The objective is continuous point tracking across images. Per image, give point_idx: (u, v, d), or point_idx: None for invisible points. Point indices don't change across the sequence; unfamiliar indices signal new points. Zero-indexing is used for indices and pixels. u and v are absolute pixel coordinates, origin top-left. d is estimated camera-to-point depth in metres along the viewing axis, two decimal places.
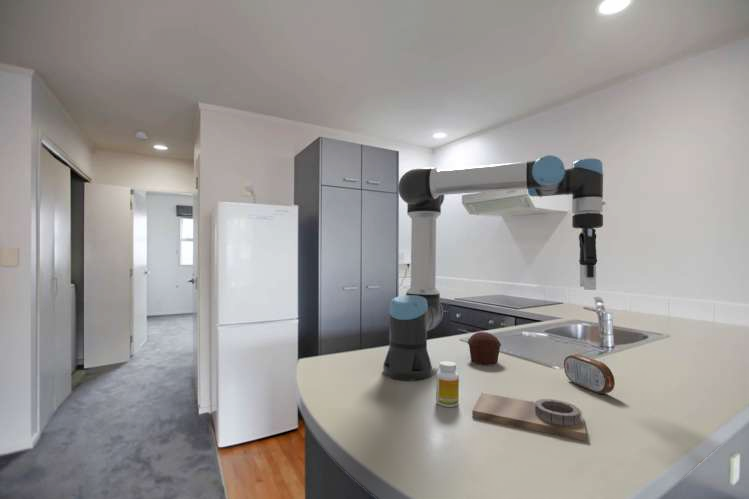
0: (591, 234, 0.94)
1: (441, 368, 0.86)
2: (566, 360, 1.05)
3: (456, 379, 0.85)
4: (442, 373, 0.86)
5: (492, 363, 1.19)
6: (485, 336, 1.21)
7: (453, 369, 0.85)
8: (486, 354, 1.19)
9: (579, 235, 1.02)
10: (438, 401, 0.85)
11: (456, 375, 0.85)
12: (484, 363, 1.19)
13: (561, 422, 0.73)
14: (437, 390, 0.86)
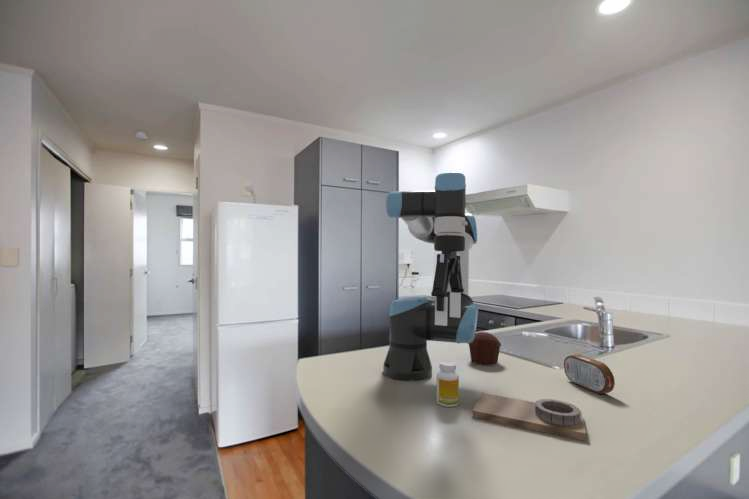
0: (443, 260, 0.81)
1: (441, 368, 0.86)
2: (566, 360, 1.05)
3: (456, 379, 0.85)
4: (442, 373, 0.86)
5: (492, 363, 1.19)
6: (485, 336, 1.21)
7: (453, 369, 0.85)
8: (486, 354, 1.19)
9: None
10: (438, 401, 0.85)
11: (456, 375, 0.85)
12: (484, 363, 1.19)
13: (561, 422, 0.73)
14: (437, 390, 0.86)
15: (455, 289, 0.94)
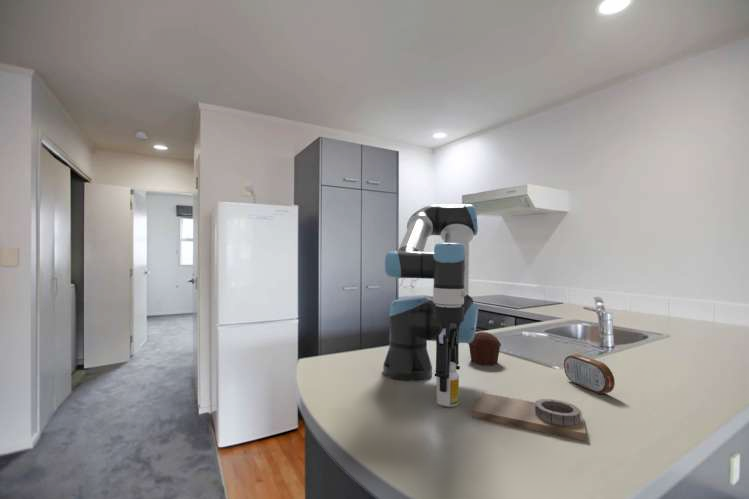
0: (442, 342, 0.81)
1: None
2: (566, 360, 1.05)
3: (456, 379, 0.85)
4: None
5: (492, 363, 1.19)
6: (485, 336, 1.21)
7: (453, 369, 0.85)
8: (486, 354, 1.19)
9: None
10: None
11: (456, 375, 0.85)
12: (484, 363, 1.19)
13: (561, 422, 0.73)
14: (437, 390, 0.86)
15: None
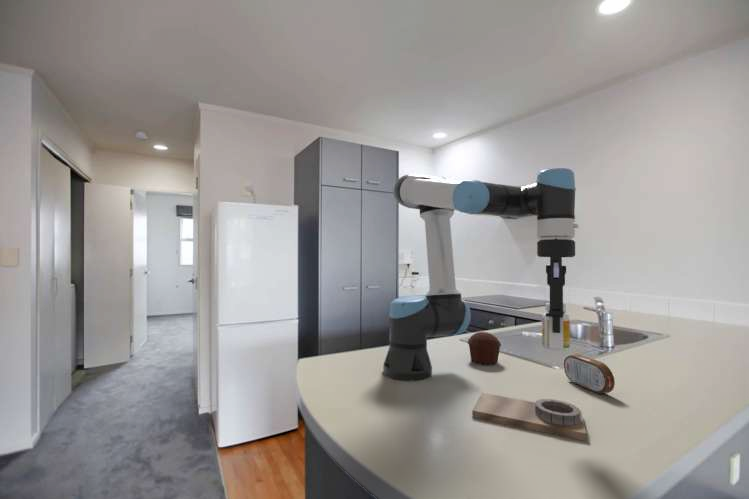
0: (558, 276, 0.72)
1: (549, 308, 0.77)
2: (566, 360, 1.05)
3: (568, 320, 0.75)
4: None
5: (492, 363, 1.19)
6: (485, 336, 1.21)
7: (564, 309, 0.76)
8: (486, 354, 1.19)
9: None
10: (547, 345, 0.76)
11: (567, 316, 0.76)
12: (484, 363, 1.19)
13: (561, 422, 0.73)
14: (545, 333, 0.77)
15: None
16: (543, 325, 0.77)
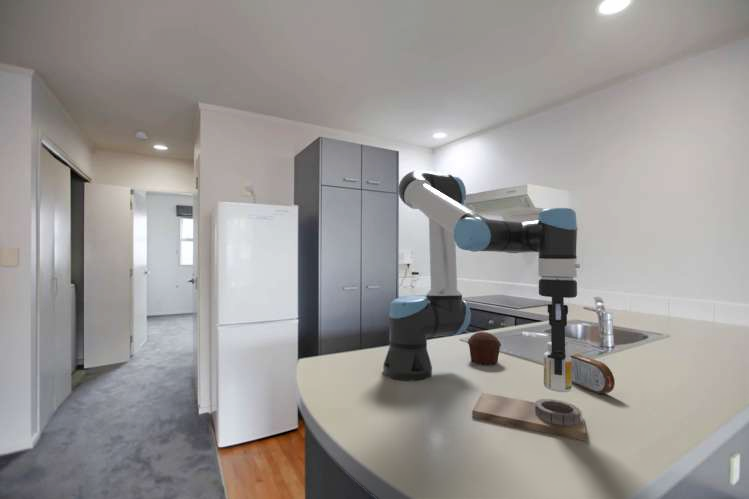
0: (560, 318, 0.72)
1: (551, 349, 0.76)
2: None
3: (570, 361, 0.75)
4: None
5: (492, 363, 1.19)
6: (485, 336, 1.21)
7: (566, 349, 0.75)
8: (486, 354, 1.19)
9: None
10: (549, 386, 0.76)
11: (569, 356, 0.76)
12: (484, 363, 1.19)
13: (561, 422, 0.73)
14: (547, 373, 0.76)
15: None
16: (545, 365, 0.77)
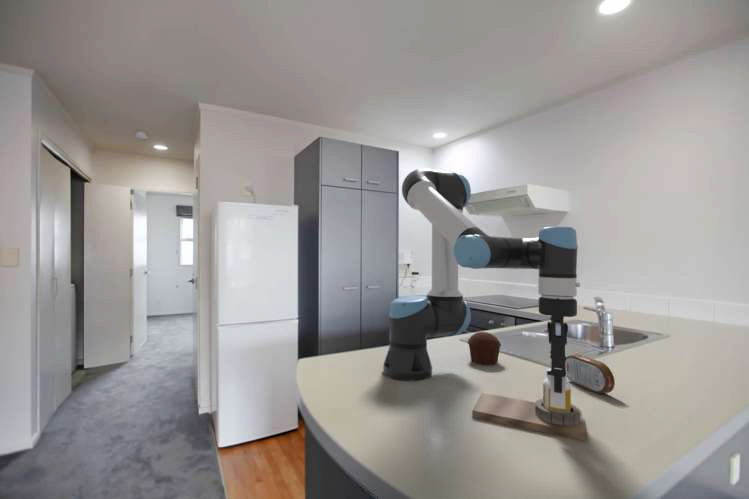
0: (560, 334, 0.71)
1: None
2: (566, 360, 1.05)
3: (569, 389, 0.75)
4: None
5: (492, 363, 1.19)
6: (485, 336, 1.21)
7: (565, 377, 0.75)
8: (486, 354, 1.19)
9: (547, 323, 0.79)
10: None
11: (568, 384, 0.76)
12: (484, 363, 1.19)
13: (561, 422, 0.73)
14: (546, 401, 0.76)
15: None
16: (544, 392, 0.77)
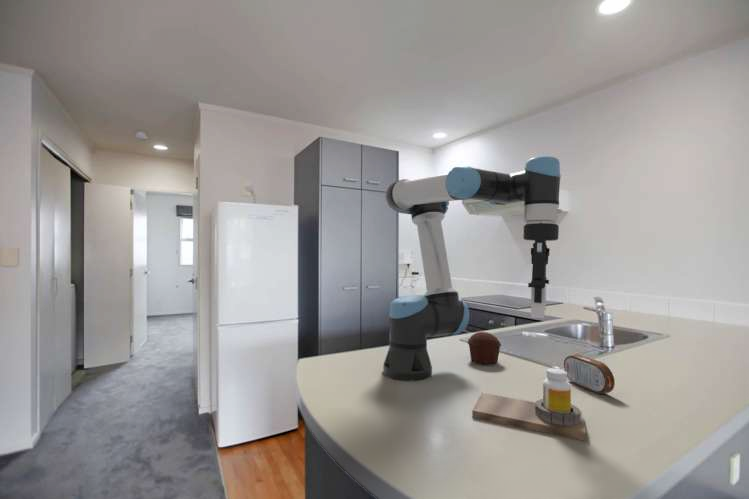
0: (541, 250, 0.77)
1: (550, 376, 0.76)
2: (566, 360, 1.05)
3: (569, 389, 0.75)
4: (552, 382, 0.76)
5: (492, 363, 1.19)
6: (485, 336, 1.21)
7: (565, 378, 0.75)
8: (486, 354, 1.19)
9: None
10: None
11: (568, 384, 0.75)
12: (484, 363, 1.19)
13: (561, 422, 0.73)
14: (546, 401, 0.76)
15: None
16: (544, 392, 0.77)
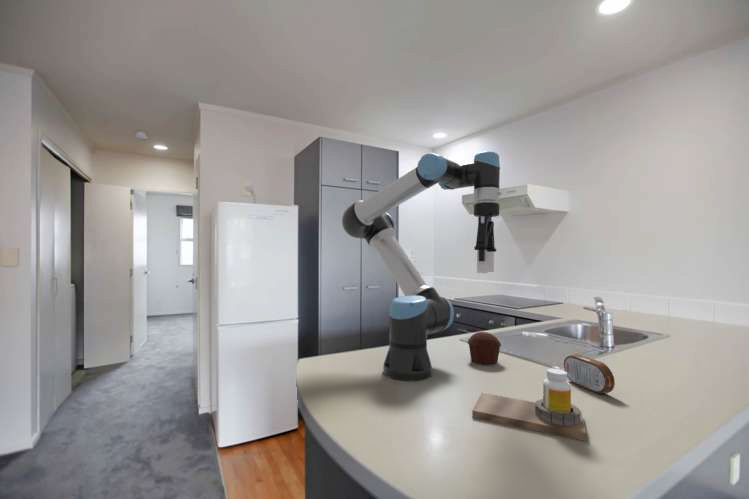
0: (483, 221, 1.02)
1: (551, 377, 0.76)
2: (566, 360, 1.05)
3: (569, 389, 0.75)
4: (552, 382, 0.76)
5: (492, 363, 1.19)
6: (485, 336, 1.21)
7: (565, 378, 0.75)
8: (486, 354, 1.19)
9: None
10: None
11: (569, 385, 0.75)
12: (484, 363, 1.19)
13: (561, 422, 0.73)
14: (546, 401, 0.76)
15: (489, 249, 1.14)
16: (544, 392, 0.77)
